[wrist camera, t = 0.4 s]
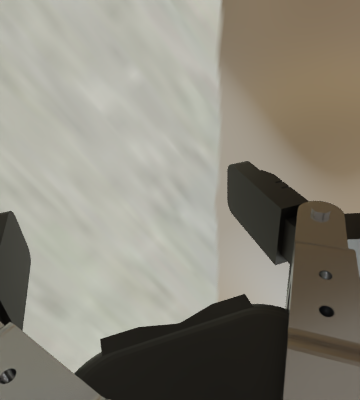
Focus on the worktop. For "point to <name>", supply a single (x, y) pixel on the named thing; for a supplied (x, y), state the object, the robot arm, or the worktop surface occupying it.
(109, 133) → the worktop surface
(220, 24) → the worktop surface
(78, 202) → the worktop surface
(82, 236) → the worktop surface
